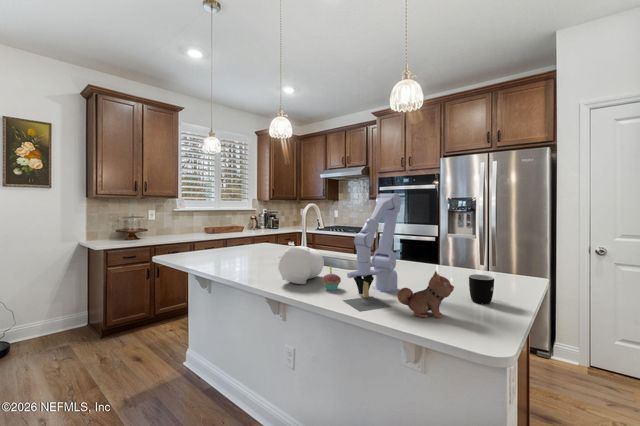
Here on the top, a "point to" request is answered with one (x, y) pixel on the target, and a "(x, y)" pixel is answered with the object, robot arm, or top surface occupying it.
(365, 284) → the card box
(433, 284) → the figurine
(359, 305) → the mat
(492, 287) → the mug
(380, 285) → the robot arm
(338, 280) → the cupcake
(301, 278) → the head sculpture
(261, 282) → the top surface
